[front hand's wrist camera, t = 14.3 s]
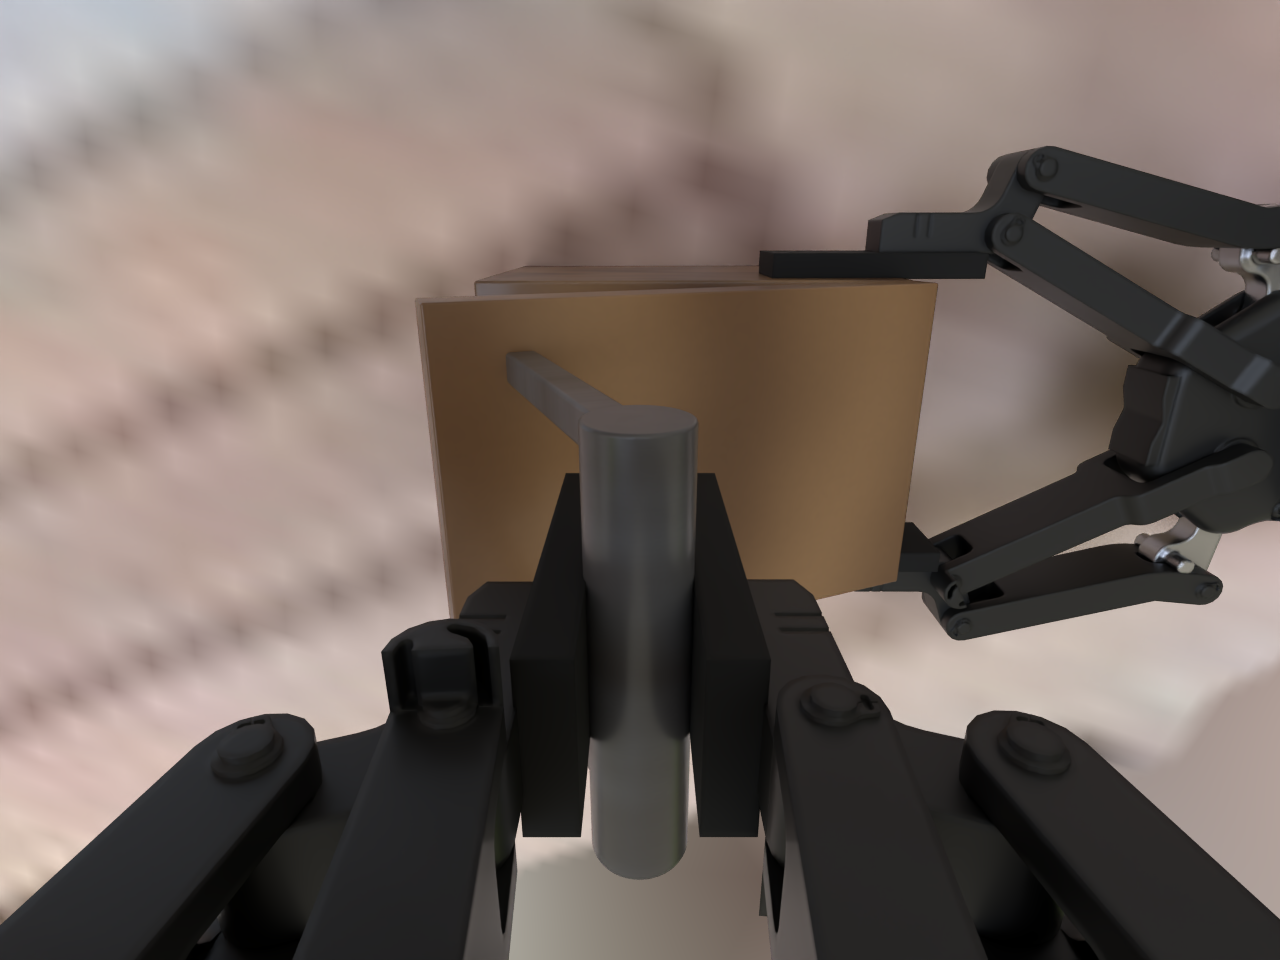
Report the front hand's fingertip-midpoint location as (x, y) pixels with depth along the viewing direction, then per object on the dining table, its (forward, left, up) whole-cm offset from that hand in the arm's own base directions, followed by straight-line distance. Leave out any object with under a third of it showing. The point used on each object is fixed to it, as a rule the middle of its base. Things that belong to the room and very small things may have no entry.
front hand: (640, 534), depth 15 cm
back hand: (+4, 0, -10) cm, 11 cm away
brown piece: (+1, 0, -5) cm, 5 cm away
